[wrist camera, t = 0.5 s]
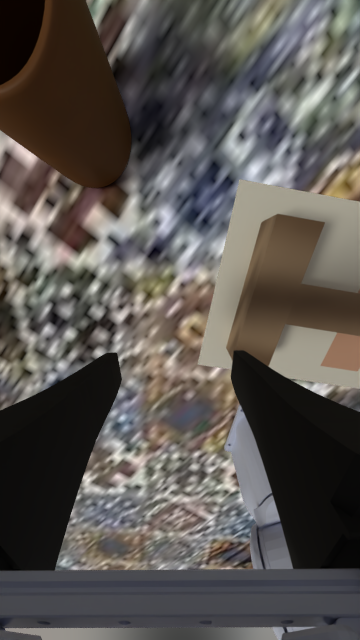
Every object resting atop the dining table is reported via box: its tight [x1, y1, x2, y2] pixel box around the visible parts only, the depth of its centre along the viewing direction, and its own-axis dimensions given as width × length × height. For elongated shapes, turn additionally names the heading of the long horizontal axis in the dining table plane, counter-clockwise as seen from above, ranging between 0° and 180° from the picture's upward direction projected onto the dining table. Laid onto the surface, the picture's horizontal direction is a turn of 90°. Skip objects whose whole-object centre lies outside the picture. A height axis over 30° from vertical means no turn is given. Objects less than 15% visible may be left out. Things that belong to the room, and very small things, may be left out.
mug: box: [0, 0, 131, 188], centre depth 9 cm, size 12×8×9 cm, turn 156°
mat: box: [198, 180, 360, 389], centre depth 19 cm, size 20×34×1 cm, turn 81°
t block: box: [226, 214, 360, 367], centre depth 17 cm, size 14×14×3 cm
